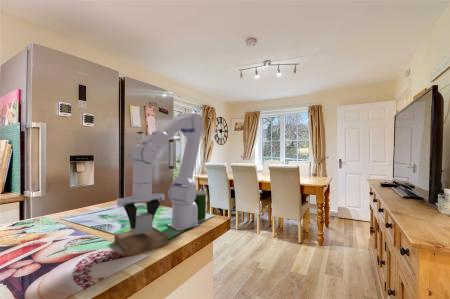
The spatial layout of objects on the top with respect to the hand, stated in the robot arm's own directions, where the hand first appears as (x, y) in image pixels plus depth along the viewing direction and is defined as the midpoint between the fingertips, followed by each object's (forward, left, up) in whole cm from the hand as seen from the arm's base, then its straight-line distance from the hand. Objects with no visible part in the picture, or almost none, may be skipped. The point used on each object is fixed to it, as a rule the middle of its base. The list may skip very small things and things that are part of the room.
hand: (141, 225), depth 70 cm
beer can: (-28, -7, -6) cm, 29 cm away
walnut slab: (0, 0, -6) cm, 6 cm away
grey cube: (0, 0, -2) cm, 2 cm away
